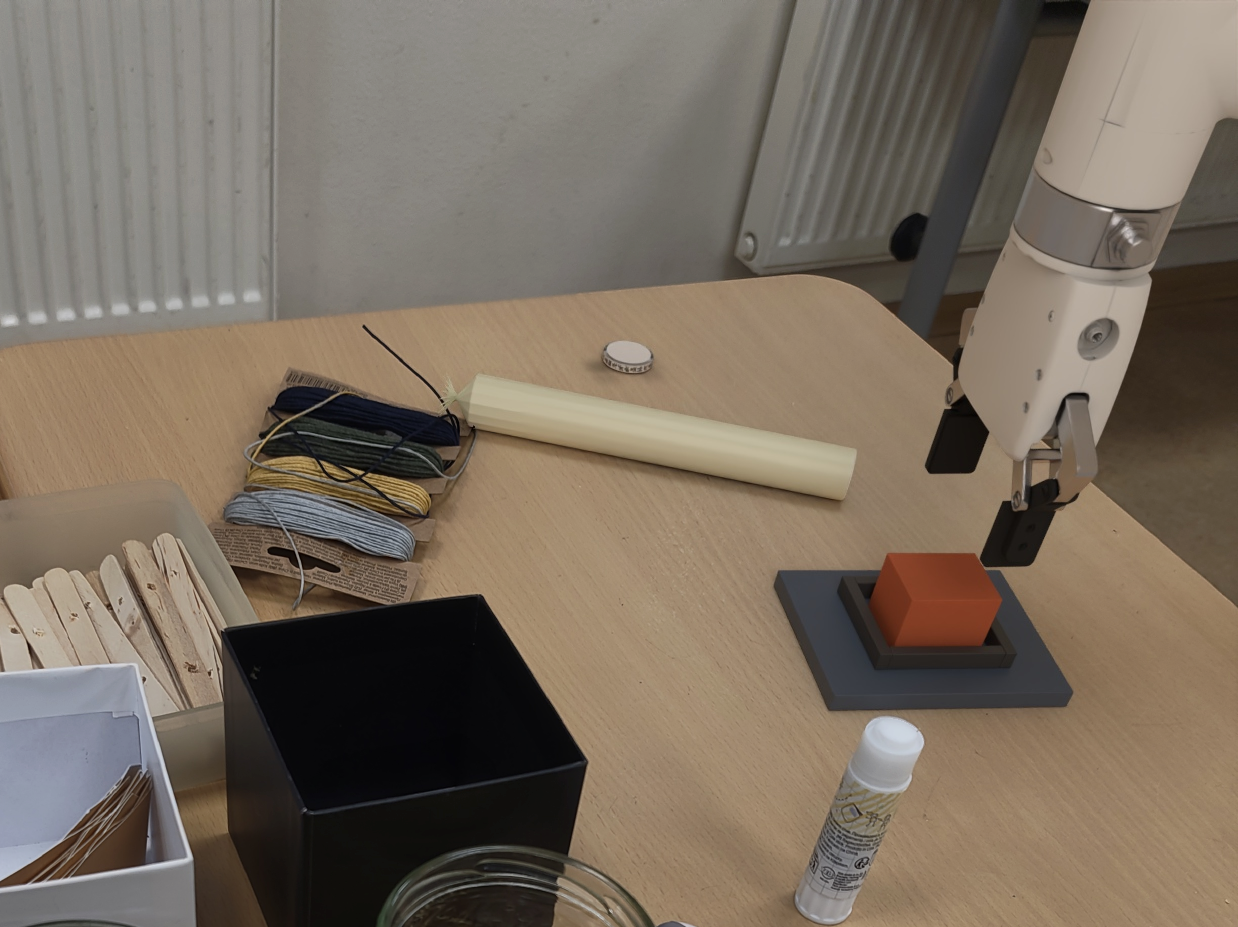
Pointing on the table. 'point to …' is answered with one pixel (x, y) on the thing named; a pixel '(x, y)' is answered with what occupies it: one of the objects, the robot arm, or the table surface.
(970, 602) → the orange block
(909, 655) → the board
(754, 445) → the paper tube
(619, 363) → the white flat disc
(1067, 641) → the table surface
